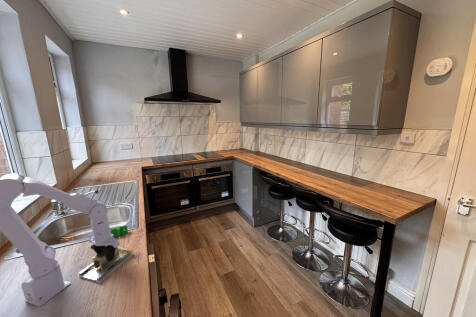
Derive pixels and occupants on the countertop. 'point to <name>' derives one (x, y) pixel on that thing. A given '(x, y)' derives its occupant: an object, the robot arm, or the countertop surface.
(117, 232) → the pipe clamp
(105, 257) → the tan notched block
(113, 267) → the silver channel bracket
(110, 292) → the countertop surface
